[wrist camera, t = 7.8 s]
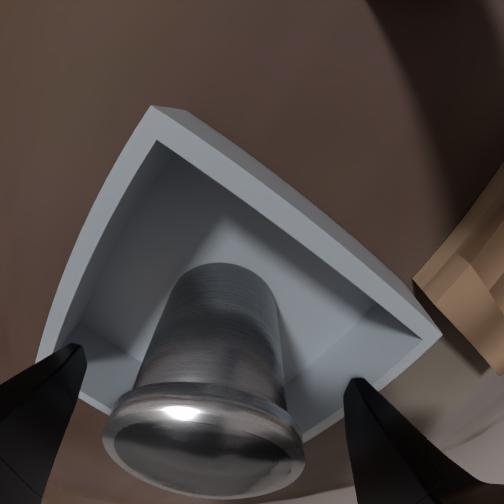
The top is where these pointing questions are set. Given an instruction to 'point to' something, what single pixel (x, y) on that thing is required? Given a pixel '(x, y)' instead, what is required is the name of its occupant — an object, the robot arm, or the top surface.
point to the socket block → (473, 274)
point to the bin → (235, 252)
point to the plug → (210, 394)
